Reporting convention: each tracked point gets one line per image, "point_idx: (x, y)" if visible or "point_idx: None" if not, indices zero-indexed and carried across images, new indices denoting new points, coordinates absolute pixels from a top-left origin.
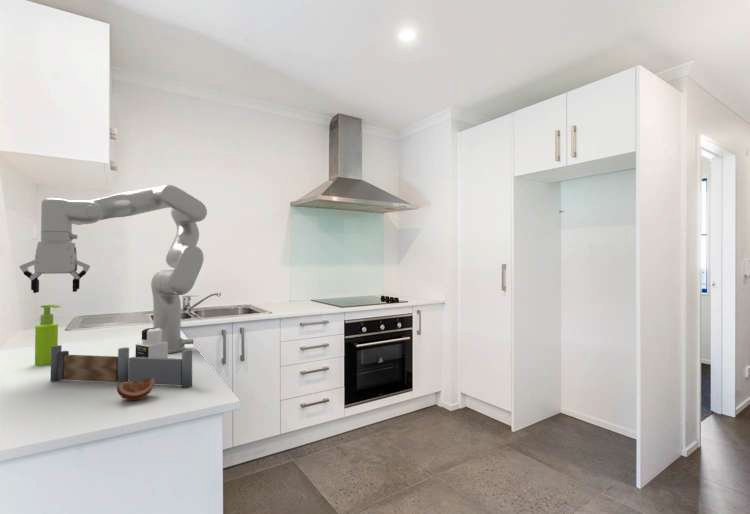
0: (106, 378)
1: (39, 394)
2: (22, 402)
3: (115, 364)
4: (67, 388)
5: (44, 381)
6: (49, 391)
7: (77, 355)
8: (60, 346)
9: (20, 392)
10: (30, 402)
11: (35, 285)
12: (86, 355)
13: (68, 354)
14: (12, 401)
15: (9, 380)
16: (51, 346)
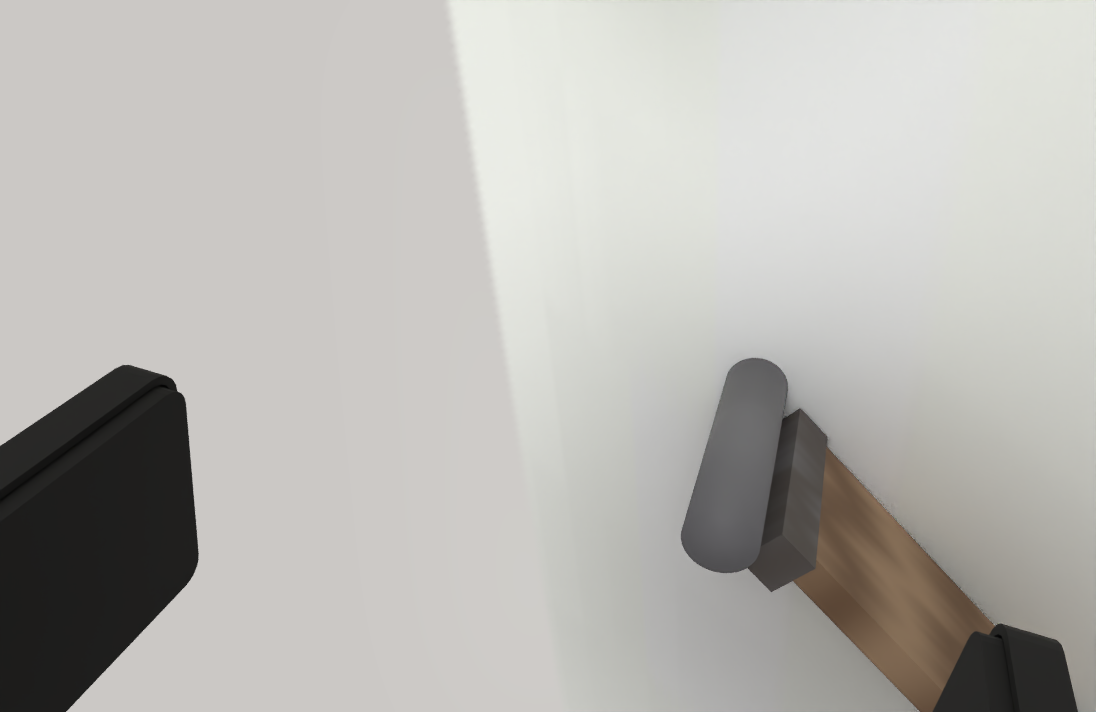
0: None
1: (672, 617)
2: (612, 683)
3: None
4: (802, 612)
5: (692, 357)
6: (716, 600)
7: (870, 637)
8: (751, 561)
9: (586, 514)
10: (642, 707)
11: (67, 689)
12: (928, 681)
13: (816, 549)
14: (572, 639)
15: (489, 162)
16: (684, 527)
